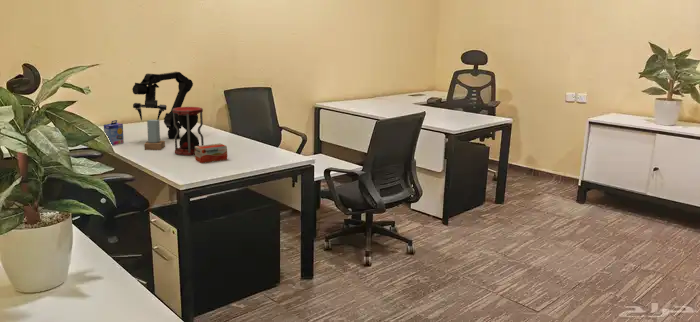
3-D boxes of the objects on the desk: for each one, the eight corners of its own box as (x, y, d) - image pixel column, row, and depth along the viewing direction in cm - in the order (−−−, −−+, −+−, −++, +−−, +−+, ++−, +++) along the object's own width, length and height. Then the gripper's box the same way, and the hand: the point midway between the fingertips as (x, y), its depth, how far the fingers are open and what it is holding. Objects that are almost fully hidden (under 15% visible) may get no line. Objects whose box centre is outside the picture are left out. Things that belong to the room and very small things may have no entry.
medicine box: (221, 156, 302) (220, 142, 300) (227, 160, 296) (227, 145, 294) (194, 160, 293) (194, 145, 291) (201, 163, 287) (200, 148, 285)
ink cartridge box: (110, 146, 320) (108, 121, 317) (104, 145, 323) (102, 120, 319) (124, 143, 329) (122, 119, 325) (118, 142, 331) (116, 118, 328)
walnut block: (149, 147, 322) (149, 140, 321) (165, 147, 323) (164, 140, 322) (144, 150, 314) (144, 143, 313) (160, 150, 314) (160, 144, 313)
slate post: (151, 141, 320) (150, 119, 318) (160, 141, 320) (159, 120, 317) (148, 142, 315) (147, 120, 313) (156, 142, 315) (155, 121, 312)
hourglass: (174, 156, 300) (171, 111, 294) (175, 149, 315) (172, 106, 309) (204, 155, 304) (202, 110, 298) (204, 148, 319) (202, 106, 313)
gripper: (132, 94, 318) (131, 121, 320) (166, 96, 324) (165, 123, 326) (134, 93, 328) (133, 119, 331) (166, 95, 334) (165, 121, 337)
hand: (149, 120), depth 331 cm, fingers open, 9 cm apart
